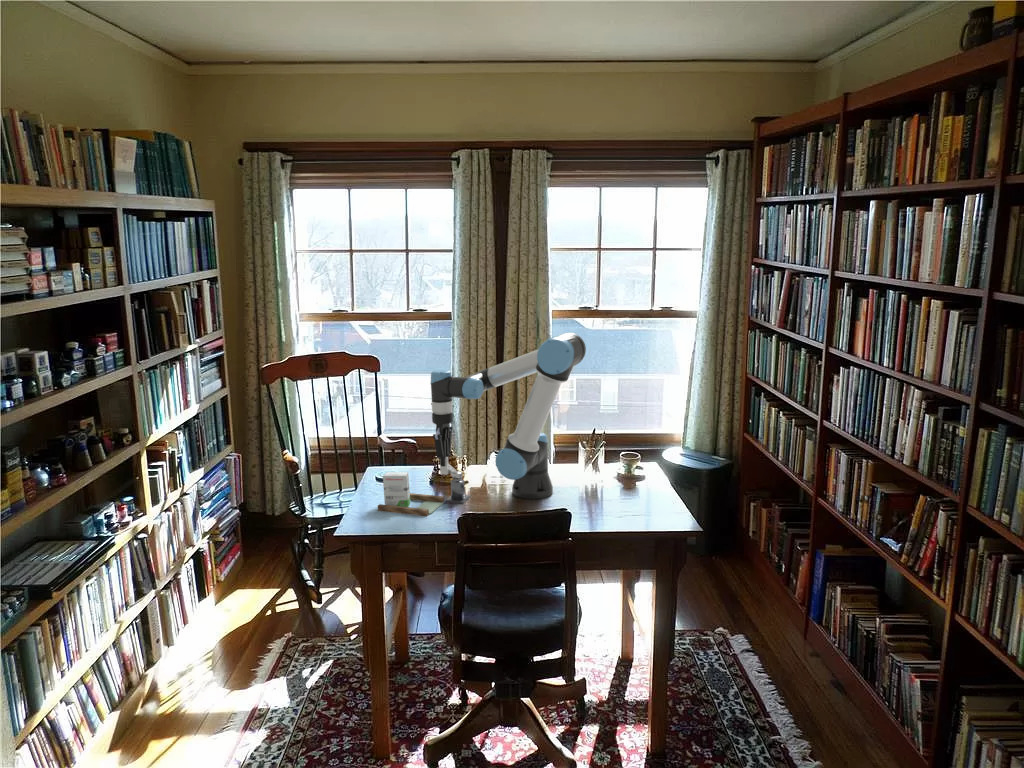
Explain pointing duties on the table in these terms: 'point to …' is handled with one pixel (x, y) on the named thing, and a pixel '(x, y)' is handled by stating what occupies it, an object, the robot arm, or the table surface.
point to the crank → (454, 472)
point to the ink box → (396, 489)
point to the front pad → (430, 506)
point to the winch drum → (458, 492)
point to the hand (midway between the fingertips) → (444, 473)
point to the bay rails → (408, 509)
